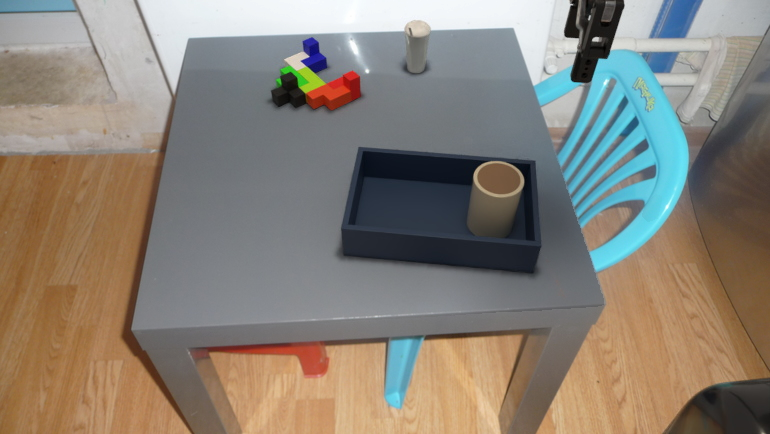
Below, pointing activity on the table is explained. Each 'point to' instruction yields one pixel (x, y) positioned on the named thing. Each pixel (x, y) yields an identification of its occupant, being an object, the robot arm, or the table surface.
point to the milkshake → (416, 45)
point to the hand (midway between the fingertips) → (576, 57)
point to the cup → (494, 199)
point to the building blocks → (313, 81)
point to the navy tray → (433, 211)
